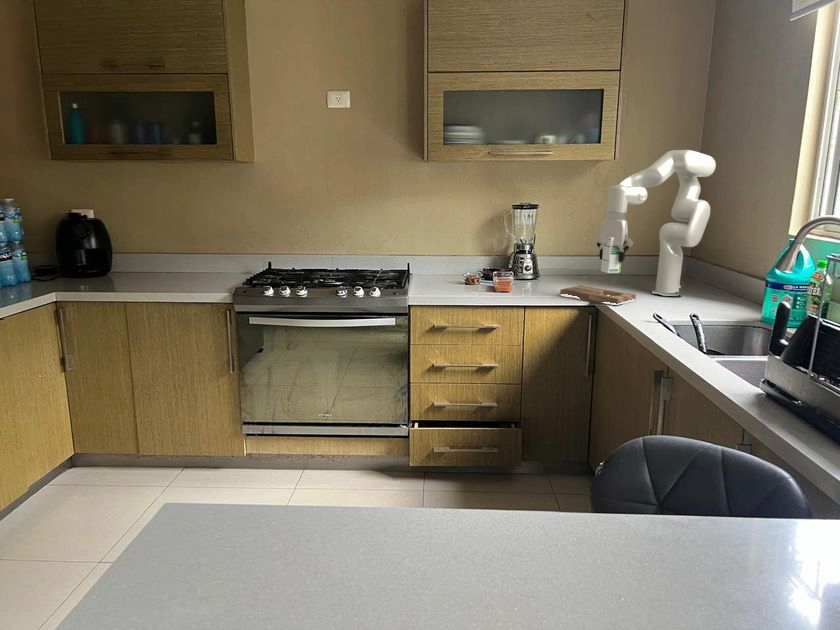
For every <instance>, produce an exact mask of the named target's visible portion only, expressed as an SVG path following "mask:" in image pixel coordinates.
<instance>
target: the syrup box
mask: <svg viewBox="0 0 840 630" xmlns="http://www.w3.org/2000/svg"><path fill="white" fill-rule="evenodd" d="M608 239H609V241H608V244H607V245H605V244H604V246H603V252H602V259H601V264H600V271H601V272H603V273H605V274H620V273H621V268H622V262H619V253H620V252H621V250H620V248H619V246H614V238H613V237H609V238H608Z"/></svg>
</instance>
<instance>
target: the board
mask: <svg viewBox="0 0 840 630" xmlns="http://www.w3.org/2000/svg"><path fill="white" fill-rule="evenodd" d="M560 294H568V295H572V296H577V297H579V298H580V299H581V300H580V301H583V302H591V303H596V304H600V305H602V304H601V302H610V303H616V304H618V303H621V302H625V301H628V300H632V299H635V298H636V297H637V293H636V294H635V293H630V292H624V291H618V290H611V289H610V290H609V289H605V288H599V287H593V286H586V285H581V284H579V285H575V286H570V287H566V288H561V289H560V293H559V295H560ZM607 295H610V296H607ZM613 296H614V297H613ZM635 300H636V299H635Z"/></svg>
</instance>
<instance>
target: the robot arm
mask: <svg viewBox="0 0 840 630" xmlns="http://www.w3.org/2000/svg"><path fill="white" fill-rule="evenodd" d="M716 165H717V163H716V160H715V159H714V158H713V157H712V156H711V155H708V154H705V153H701V152H698V151H695V150H692V149H674V150H669V151H667V152H665V154H663V155H662V156H661V157H660V158H658V159H657V160H656V161H655V162H653V163H652V164H651V165H650V166H648V167H647V168H644V169H642V170H640V171H638V172H636V173H633V174H632V175H631V174H630V175H629V176H628V177H626V178H624V179H623V180H622V181H621V182H619V183H618V184H617V185H611V186H610V187H609V190H608V199H607V209H606V212H604V213H603V217H605V219H604V220H603V222H602V225H601V229H600V235H598V236H597V237H595V238H594V242H595V244H596V246H597V248H598V249H599V260H602V252H603V246H604V244H605V245H607V244H608V241H609V239H608V238H609V237H613V238H614V246H619V248H620V250H621V252H620V253H619V262H621V263H622V262H623V263H624V261H625V259H626V252H627V251H628V250H630V249H631V247H632V246H633V245H634V241H633V240H632V239H631V238H629V236H628V235H629V234H628V230H629V229H628V220H627V211H628V205H632V206H633V205H639V206H640V205H641V204H643V203H644V202H646V200H647V199H648V190H647V188H649V189H650V188H653V187H656V186H659V185H662V184H663V183H664V182H665V181H666V180H668V178H670V177H671V176H673V174H675V173H676V175H677V177H678V181H679V189H678V192H677V194H676V198H675V200H674V203H673V206H672V207H671V212H670V214H671V217H672V219H674V221H678V222H667V223H664V224H663V225H662V226H661V227H660V230H659V234H658V235H659V257H658V266H657V272H656V273H657V274H656V275H657V276H656V281H655V282H656V283H655V290H656V291H658V292H665V293H675V292H680V289H681V286H682V285H680V283H681V277H682V267H683V259H684V253H683V252H684V251H683V250H682V247H686V248H693V247H695V246H698V245H699V243H700V242H701V240H702V238H703V236H704V233H705V229H706V227H707V224H708V223H709V222H708V221H709V219H710V215H711V206H710V204H709V202H708V201H706V200H704V199H699V198H700V197H699V196H700V194H701V184H700V182H699V180H698V177H699V178H703V177H704V178H707V177H710V176H711V175H712V174H713V173H714V172H715V171H716V167H717V166H716ZM679 221H680V222H679ZM683 222H687V223H683ZM679 288H680V289H679Z"/></svg>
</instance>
